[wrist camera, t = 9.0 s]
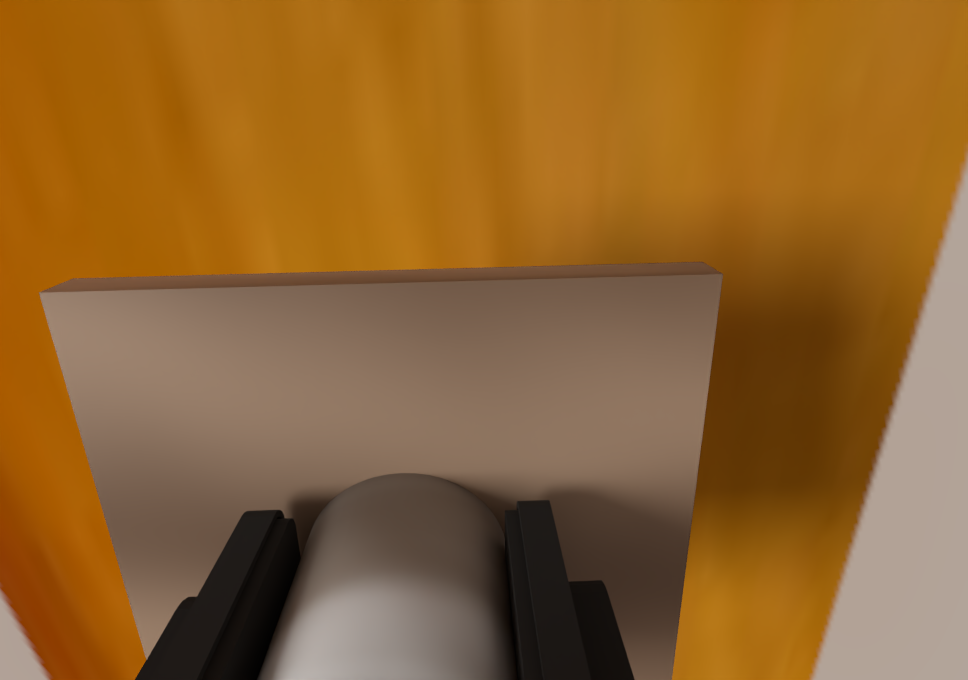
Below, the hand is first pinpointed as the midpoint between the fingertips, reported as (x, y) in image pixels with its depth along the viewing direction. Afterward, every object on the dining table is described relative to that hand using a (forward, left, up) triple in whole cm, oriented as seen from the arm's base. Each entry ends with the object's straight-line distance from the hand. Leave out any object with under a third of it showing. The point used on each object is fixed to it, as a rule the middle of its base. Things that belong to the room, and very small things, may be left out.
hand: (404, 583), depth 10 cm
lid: (0, 0, -1) cm, 1 cm away
